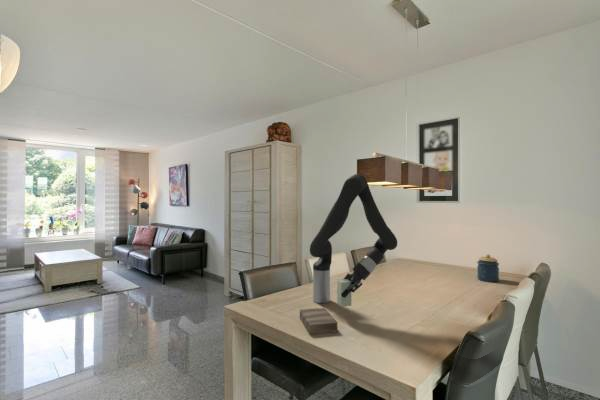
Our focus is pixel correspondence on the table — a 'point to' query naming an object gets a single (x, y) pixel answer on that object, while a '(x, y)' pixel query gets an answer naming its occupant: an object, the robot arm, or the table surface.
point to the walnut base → (318, 321)
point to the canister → (488, 269)
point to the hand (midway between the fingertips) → (340, 294)
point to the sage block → (341, 287)
